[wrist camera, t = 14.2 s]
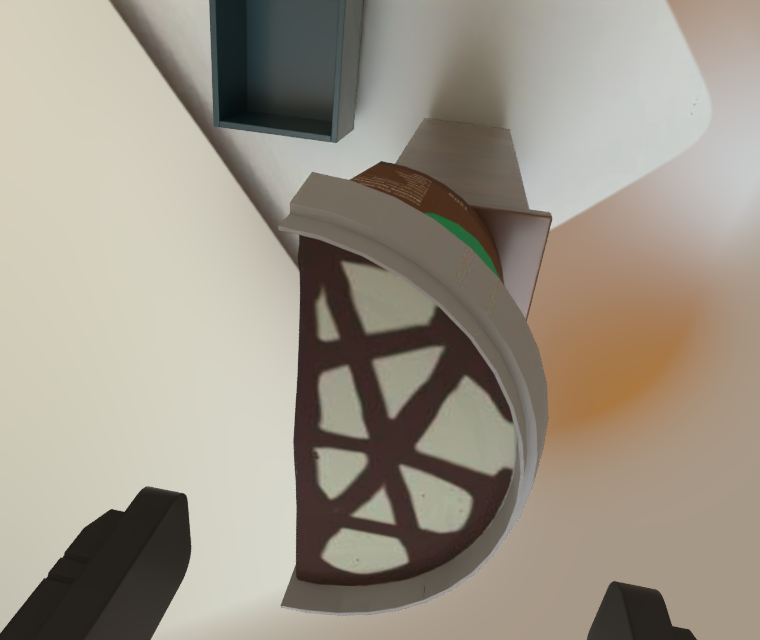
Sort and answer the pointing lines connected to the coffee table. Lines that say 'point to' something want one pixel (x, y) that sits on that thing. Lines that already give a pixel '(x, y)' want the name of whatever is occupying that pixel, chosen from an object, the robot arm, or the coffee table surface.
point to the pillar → (468, 161)
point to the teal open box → (286, 66)
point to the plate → (517, 246)
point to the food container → (404, 394)
